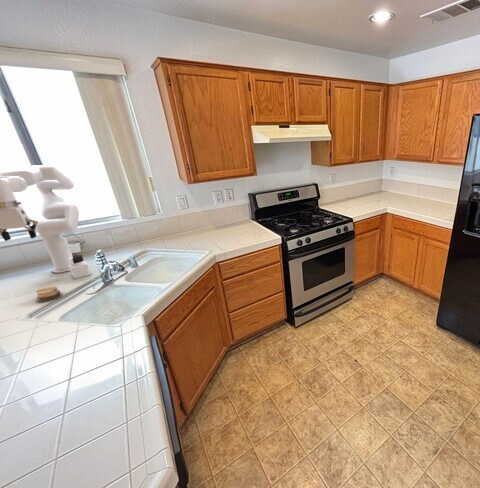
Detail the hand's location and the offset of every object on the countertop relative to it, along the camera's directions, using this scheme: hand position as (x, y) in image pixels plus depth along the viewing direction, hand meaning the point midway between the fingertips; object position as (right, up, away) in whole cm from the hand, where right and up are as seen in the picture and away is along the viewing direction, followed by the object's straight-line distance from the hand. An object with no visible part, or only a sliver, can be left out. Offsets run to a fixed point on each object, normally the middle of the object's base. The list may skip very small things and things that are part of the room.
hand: (21, 238), depth 131 cm
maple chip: (+14, -28, 0) cm, 31 cm away
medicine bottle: (+8, -21, +24) cm, 33 cm away
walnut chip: (+14, -30, +1) cm, 33 cm away
